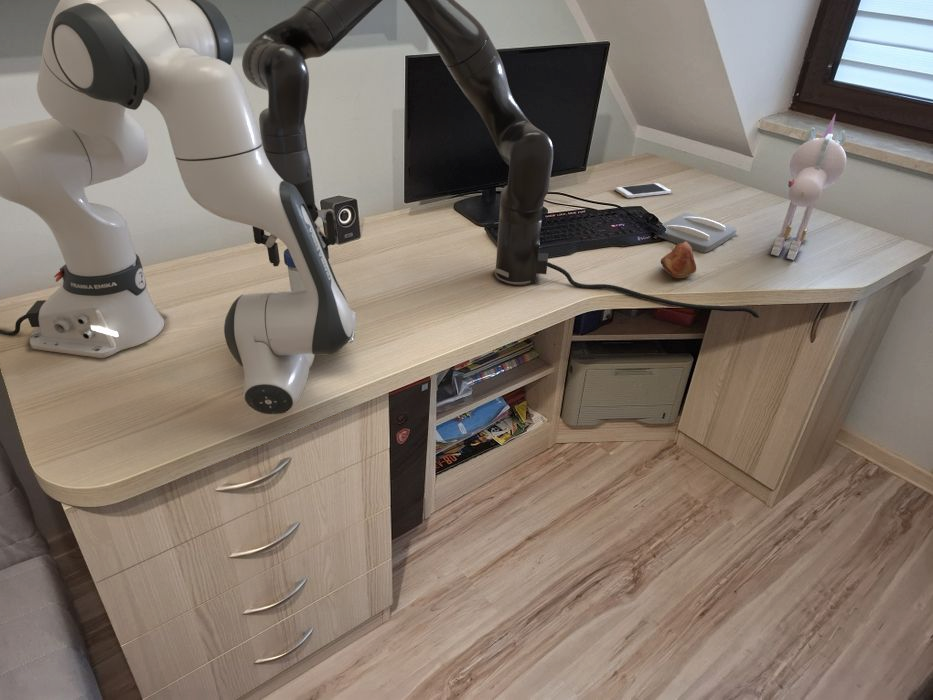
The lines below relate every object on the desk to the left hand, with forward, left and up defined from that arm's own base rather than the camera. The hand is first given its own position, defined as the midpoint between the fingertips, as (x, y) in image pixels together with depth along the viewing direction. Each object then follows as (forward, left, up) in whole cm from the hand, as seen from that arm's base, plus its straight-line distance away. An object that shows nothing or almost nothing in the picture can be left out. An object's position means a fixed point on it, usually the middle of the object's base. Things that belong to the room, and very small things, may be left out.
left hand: (306, 303), depth 119 cm
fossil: (+80, +28, -6) cm, 85 cm away
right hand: (0, -1, +8) cm, 9 cm away
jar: (0, -1, -6) cm, 6 cm away
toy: (+117, +50, -6) cm, 127 cm away
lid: (0, -1, +11) cm, 11 cm away
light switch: (+91, +51, -6) cm, 105 cm away
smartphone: (+86, +83, -6) cm, 119 cm away
